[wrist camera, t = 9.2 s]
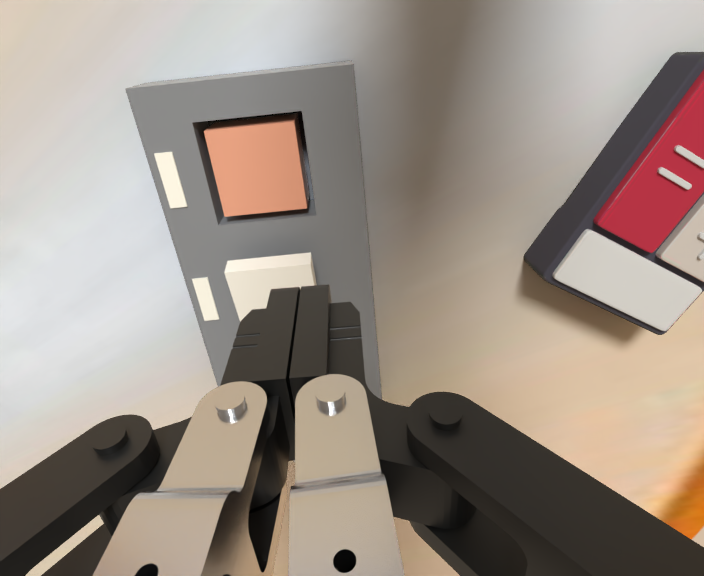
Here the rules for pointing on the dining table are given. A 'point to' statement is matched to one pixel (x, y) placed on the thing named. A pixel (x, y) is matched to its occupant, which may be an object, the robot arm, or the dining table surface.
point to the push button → (258, 164)
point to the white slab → (266, 278)
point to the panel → (272, 227)
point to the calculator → (638, 209)
